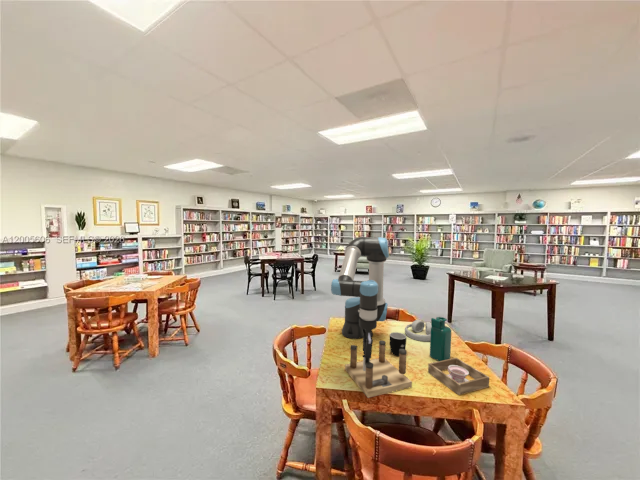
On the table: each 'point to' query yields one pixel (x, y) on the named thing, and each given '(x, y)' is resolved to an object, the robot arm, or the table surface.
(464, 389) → the cup coaster tray
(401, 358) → the loose leg
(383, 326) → the table surface
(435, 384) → the table surface
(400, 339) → the mug
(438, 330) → the green bottle
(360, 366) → the stool top
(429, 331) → the headphones
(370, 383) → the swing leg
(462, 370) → the teacup
